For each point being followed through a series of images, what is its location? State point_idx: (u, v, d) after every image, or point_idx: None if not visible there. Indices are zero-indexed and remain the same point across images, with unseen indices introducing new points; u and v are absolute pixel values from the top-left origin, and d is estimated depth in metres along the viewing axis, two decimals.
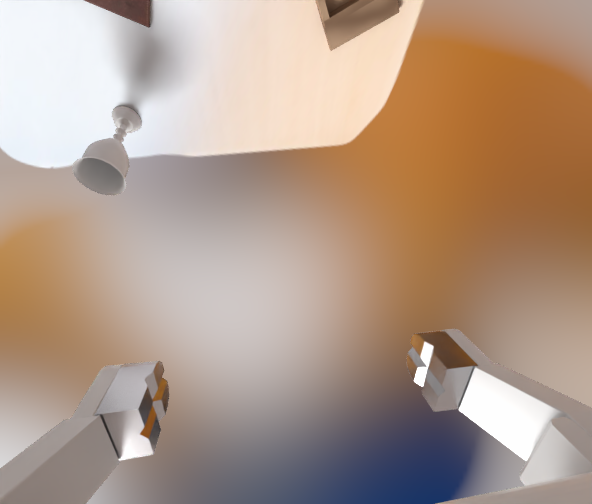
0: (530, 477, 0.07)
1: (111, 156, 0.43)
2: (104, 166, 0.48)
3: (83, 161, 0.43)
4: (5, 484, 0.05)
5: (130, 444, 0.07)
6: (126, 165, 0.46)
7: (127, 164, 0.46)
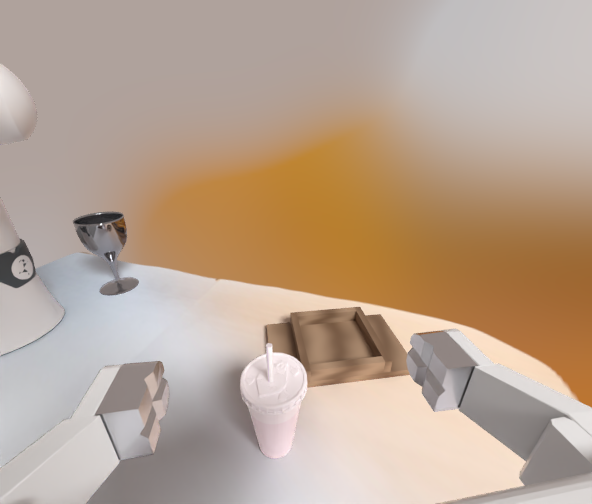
0: (530, 477, 0.07)
1: None
2: None
3: None
4: (5, 484, 0.05)
5: (130, 444, 0.07)
6: None
7: None
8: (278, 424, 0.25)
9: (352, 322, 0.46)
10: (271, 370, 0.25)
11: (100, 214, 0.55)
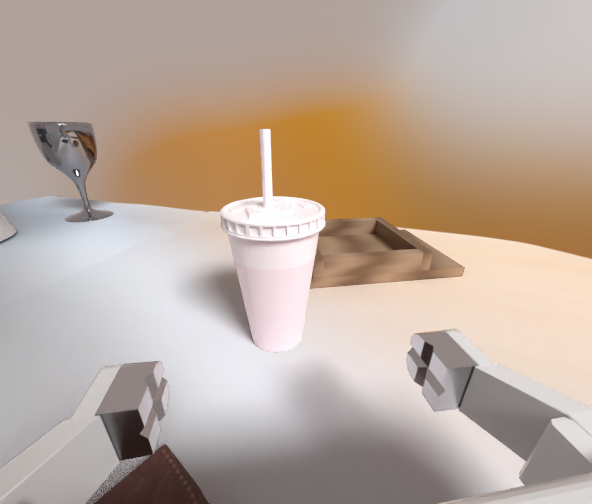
0: (530, 477, 0.07)
1: None
2: None
3: None
4: (5, 484, 0.05)
5: (130, 444, 0.07)
6: None
7: None
8: (281, 271, 0.16)
9: (371, 235, 0.37)
10: (269, 182, 0.15)
11: None
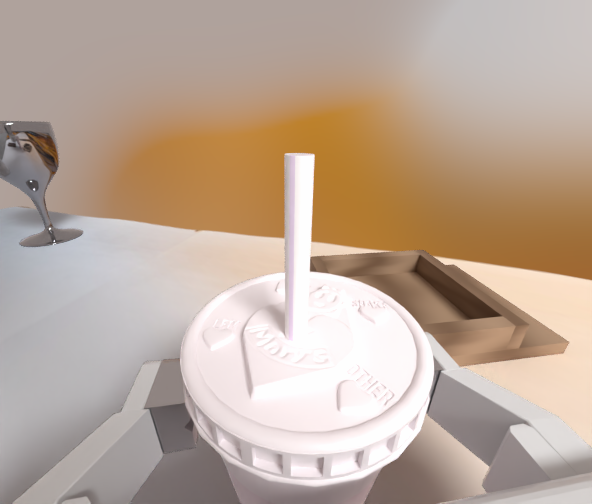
0: (491, 485, 0.06)
1: None
2: None
3: None
4: (69, 474, 0.05)
5: (174, 438, 0.07)
6: None
7: None
8: None
9: (412, 274, 0.28)
10: (303, 287, 0.06)
11: None
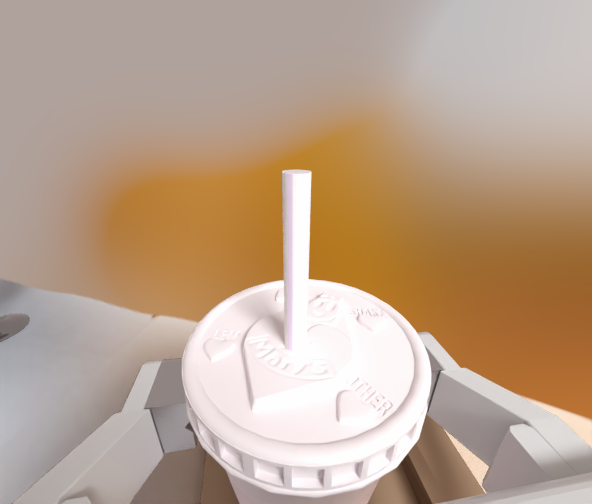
0: (491, 485, 0.06)
1: None
2: None
3: None
4: (70, 474, 0.05)
5: (174, 437, 0.07)
6: None
7: None
8: None
9: None
10: (302, 299, 0.06)
11: None
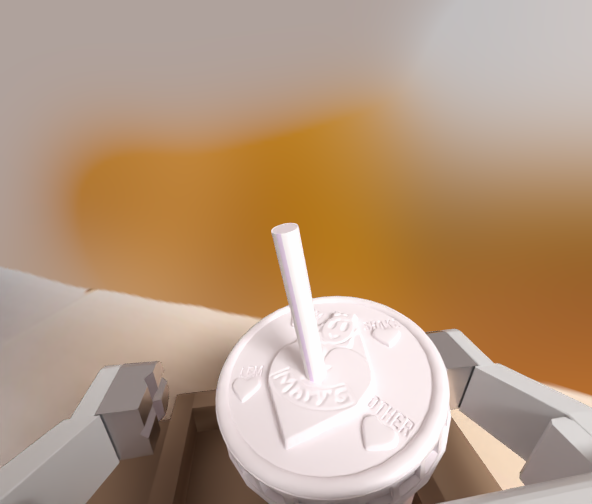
0: (530, 477, 0.07)
1: None
2: None
3: None
4: (4, 484, 0.05)
5: (130, 444, 0.07)
6: None
7: None
8: None
9: None
10: (313, 336, 0.06)
11: None
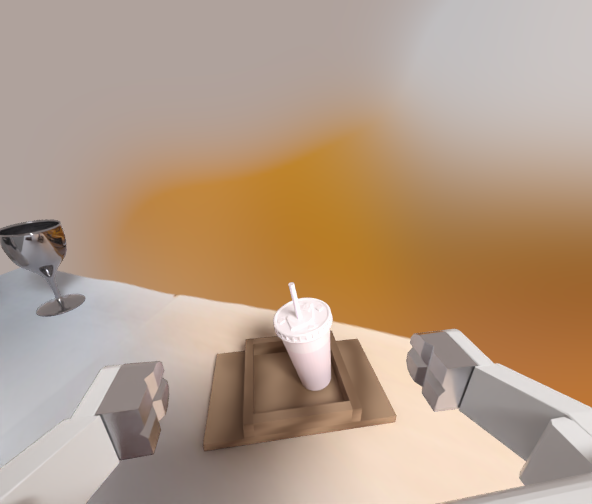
0: (530, 477, 0.07)
1: None
2: None
3: None
4: (5, 484, 0.05)
5: (130, 444, 0.07)
6: None
7: None
8: (313, 352, 0.28)
9: None
10: (297, 307, 0.28)
11: (35, 223, 0.48)
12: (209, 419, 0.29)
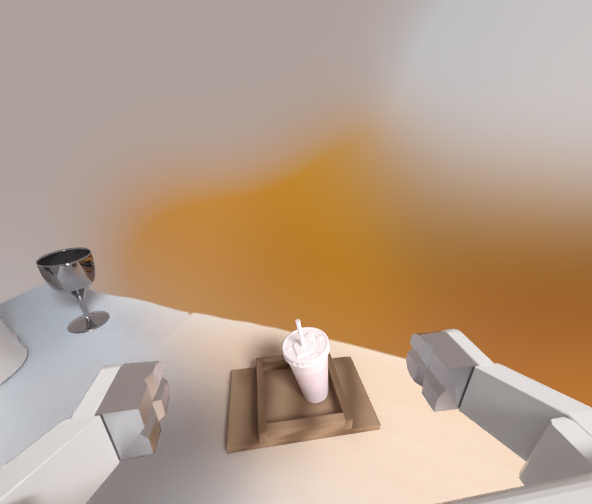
0: (530, 477, 0.07)
1: None
2: None
3: None
4: (5, 484, 0.05)
5: (130, 444, 0.07)
6: None
7: None
8: (314, 374, 0.35)
9: None
10: (302, 338, 0.35)
11: (67, 250, 0.54)
12: (230, 427, 0.36)
